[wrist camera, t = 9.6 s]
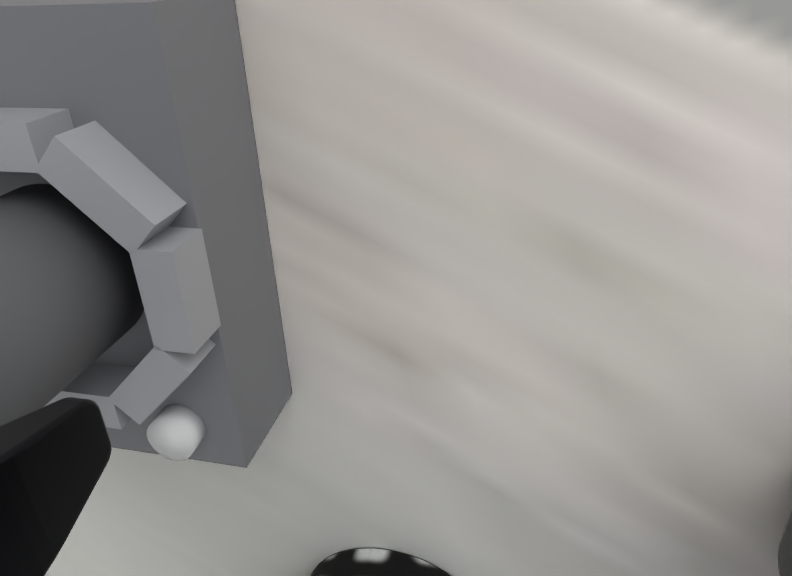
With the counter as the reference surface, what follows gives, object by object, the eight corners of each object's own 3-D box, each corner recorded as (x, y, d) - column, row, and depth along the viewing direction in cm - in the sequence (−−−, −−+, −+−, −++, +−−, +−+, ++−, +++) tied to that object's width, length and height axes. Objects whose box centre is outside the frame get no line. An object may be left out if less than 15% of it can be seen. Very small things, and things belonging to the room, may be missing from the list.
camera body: (236, -11, 18) (115, 8, 13) (294, 393, 24) (228, 502, 20) (-36, -3, 20) (-224, 16, 15) (86, 368, 26) (-19, 461, 22)
